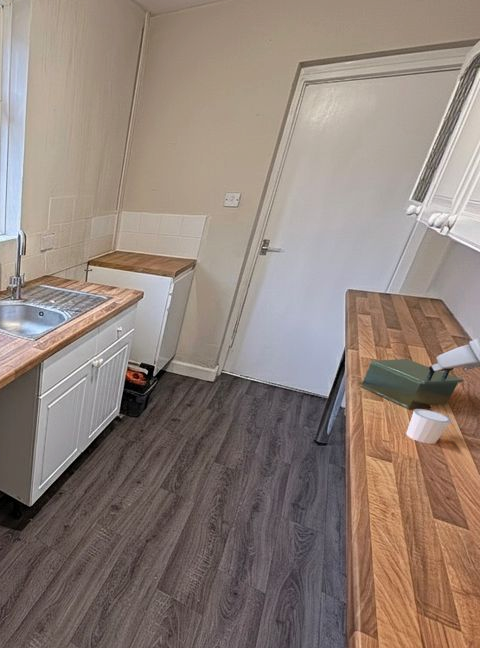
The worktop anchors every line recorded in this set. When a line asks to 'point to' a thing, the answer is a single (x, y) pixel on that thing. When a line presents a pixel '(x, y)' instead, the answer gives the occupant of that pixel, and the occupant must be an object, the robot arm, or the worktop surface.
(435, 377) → the box lid
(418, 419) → the white ramekin
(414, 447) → the worktop surface
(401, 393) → the green box
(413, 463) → the worktop surface
